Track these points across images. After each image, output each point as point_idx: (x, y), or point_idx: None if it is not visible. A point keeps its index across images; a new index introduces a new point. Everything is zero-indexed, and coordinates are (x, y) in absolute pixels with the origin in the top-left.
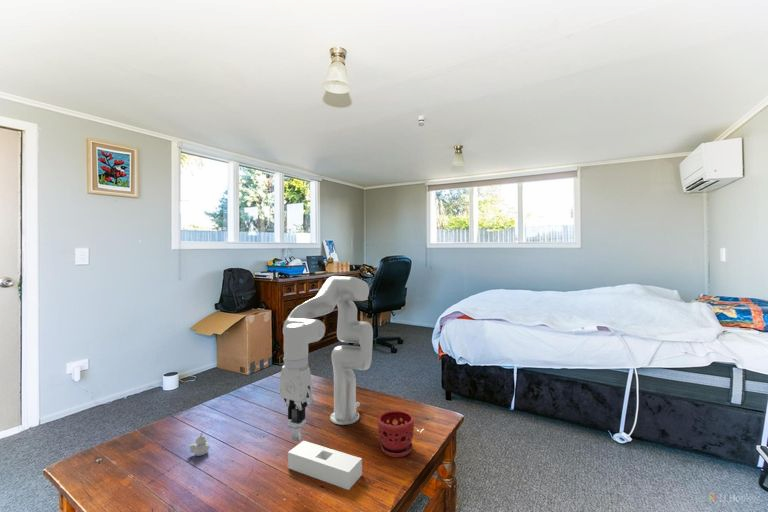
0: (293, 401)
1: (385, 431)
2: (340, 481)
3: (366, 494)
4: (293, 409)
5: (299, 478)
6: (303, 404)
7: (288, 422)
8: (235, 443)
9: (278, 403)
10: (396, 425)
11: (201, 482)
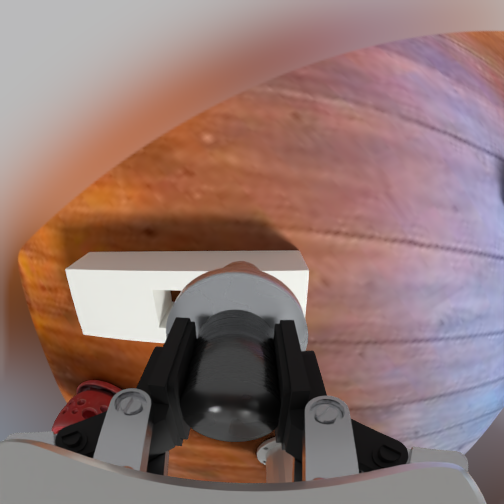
0: (298, 462)
1: (83, 418)
2: (103, 257)
3: (56, 258)
4: (235, 391)
5: (231, 228)
6: (92, 439)
7: (271, 296)
8: (482, 267)
9: (455, 409)
10: (60, 429)
11: (454, 109)
